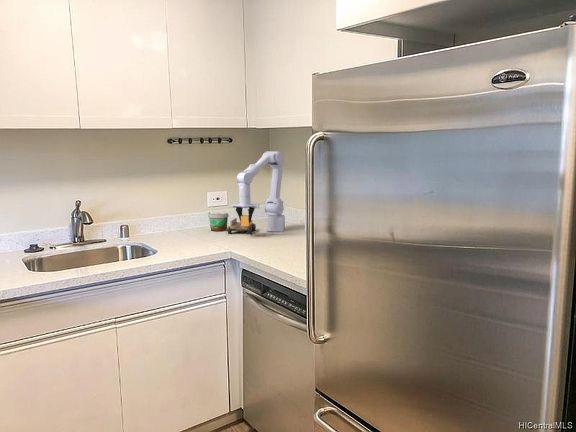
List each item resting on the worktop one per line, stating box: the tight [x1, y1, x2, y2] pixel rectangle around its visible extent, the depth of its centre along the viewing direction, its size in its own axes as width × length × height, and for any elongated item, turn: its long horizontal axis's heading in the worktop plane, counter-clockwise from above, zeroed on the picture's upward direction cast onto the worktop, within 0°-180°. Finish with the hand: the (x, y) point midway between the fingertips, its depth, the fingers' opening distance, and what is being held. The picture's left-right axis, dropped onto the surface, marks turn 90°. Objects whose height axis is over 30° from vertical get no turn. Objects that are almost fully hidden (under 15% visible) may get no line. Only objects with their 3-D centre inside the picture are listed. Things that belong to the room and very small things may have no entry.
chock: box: [241, 214, 253, 226], centre depth 241 cm, size 4×8×5 cm, turn 171°
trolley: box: [227, 217, 257, 235], centre depth 254 cm, size 13×13×7 cm
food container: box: [207, 212, 230, 233], centre depth 258 cm, size 12×6×10 cm, turn 73°
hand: (245, 221), depth 239 cm, fingers closed on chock, 4 cm apart
